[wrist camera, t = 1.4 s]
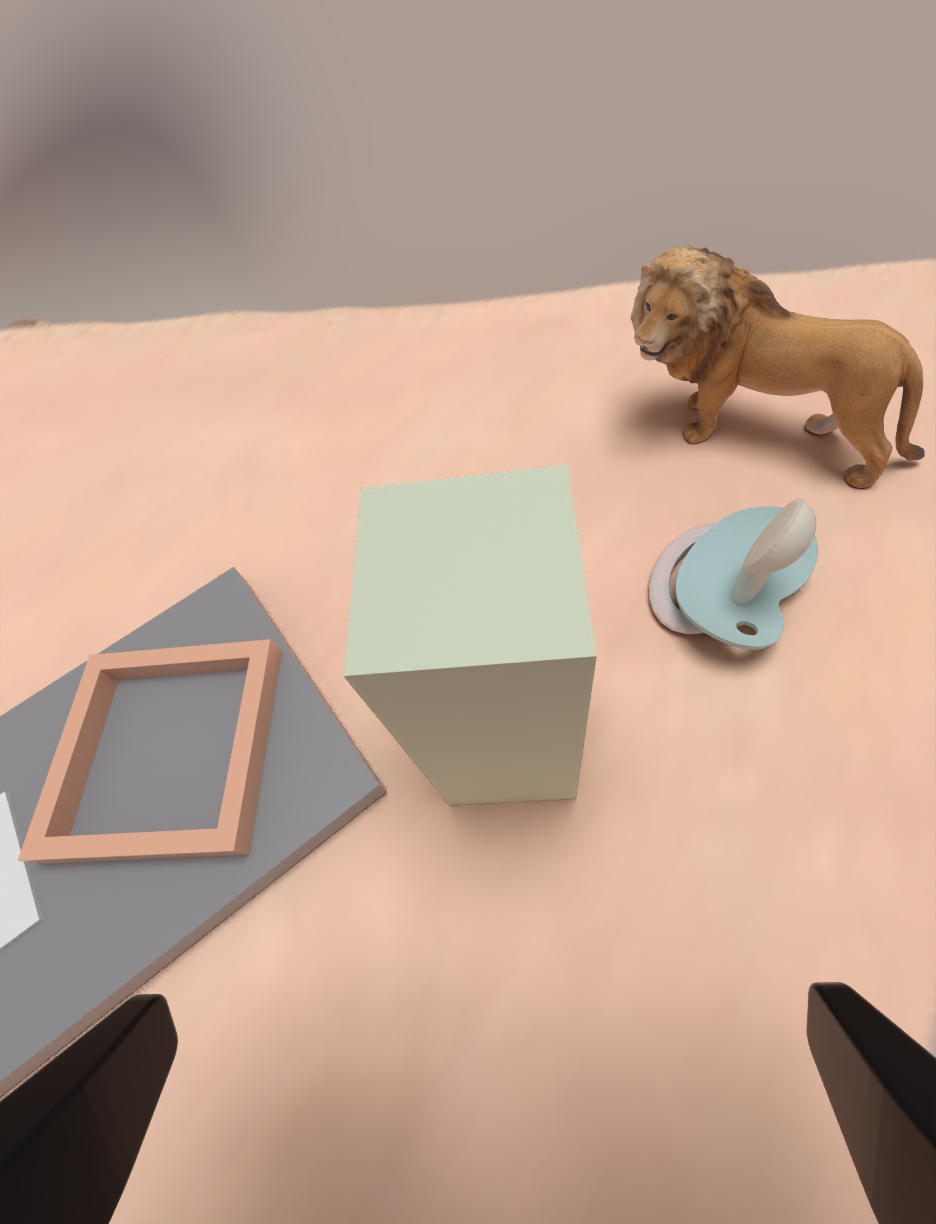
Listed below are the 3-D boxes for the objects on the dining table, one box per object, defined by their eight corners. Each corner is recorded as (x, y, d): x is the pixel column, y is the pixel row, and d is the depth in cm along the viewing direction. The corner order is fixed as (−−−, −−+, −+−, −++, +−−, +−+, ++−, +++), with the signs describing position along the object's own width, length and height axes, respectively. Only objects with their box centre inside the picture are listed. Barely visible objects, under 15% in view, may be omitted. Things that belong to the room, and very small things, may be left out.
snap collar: (249, 855, 21) (233, 850, 20) (42, 864, 22) (17, 860, 21) (281, 651, 26) (270, 639, 25) (107, 665, 27) (89, 654, 25)
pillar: (575, 798, 22) (596, 656, 11) (449, 805, 22) (343, 676, 11) (562, 680, 24) (567, 464, 13) (448, 688, 25) (361, 488, 14)
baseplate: (-92, 1169, 19) (-139, 1185, 18) (-133, 825, 25) (-170, 819, 24) (386, 791, 23) (376, 783, 22) (245, 579, 30) (230, 563, 28)
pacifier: (621, 622, 26) (754, 685, 23) (632, 537, 20) (807, 606, 18) (689, 512, 28) (816, 558, 26) (716, 411, 23) (878, 457, 20)
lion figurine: (606, 446, 31) (624, 283, 23) (631, 383, 33) (654, 215, 25) (915, 502, 26) (1062, 324, 19) (919, 424, 29) (1053, 237, 21)
